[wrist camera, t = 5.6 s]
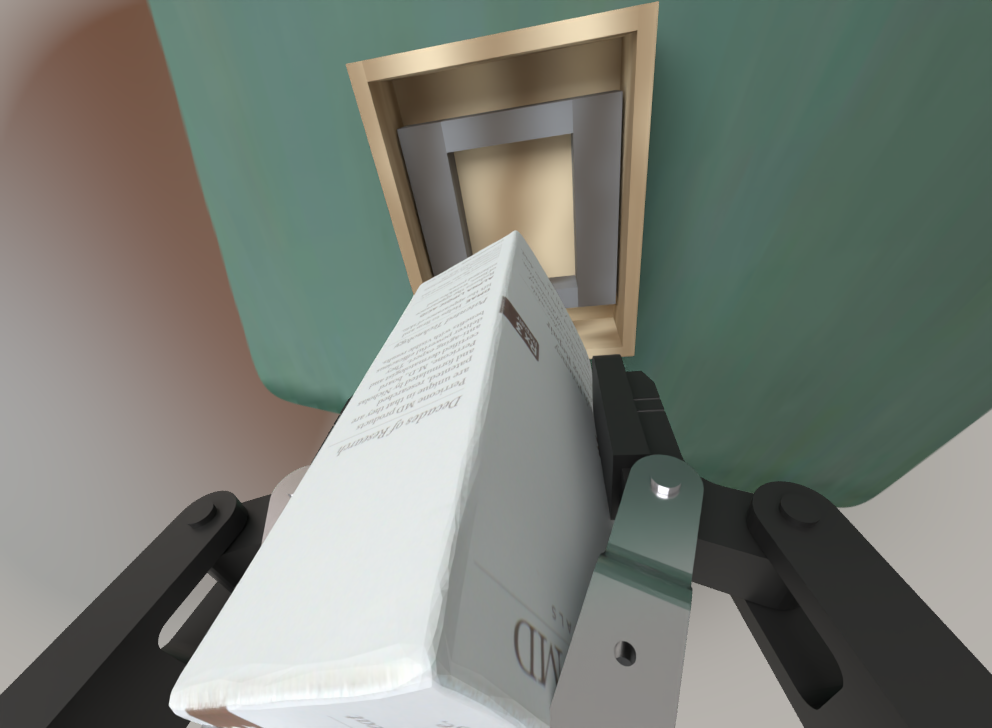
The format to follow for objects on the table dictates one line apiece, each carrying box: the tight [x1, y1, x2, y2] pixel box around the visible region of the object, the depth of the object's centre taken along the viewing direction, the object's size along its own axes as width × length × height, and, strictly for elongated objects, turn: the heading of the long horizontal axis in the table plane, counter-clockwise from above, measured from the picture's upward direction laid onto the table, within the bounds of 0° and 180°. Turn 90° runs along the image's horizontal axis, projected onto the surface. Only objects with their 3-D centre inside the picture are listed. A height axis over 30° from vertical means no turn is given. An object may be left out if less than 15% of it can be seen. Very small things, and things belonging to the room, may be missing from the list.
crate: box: [346, 1, 659, 359], centre depth 25 cm, size 14×18×5 cm
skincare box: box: [169, 230, 615, 728], centre depth 10 cm, size 6×4×12 cm
